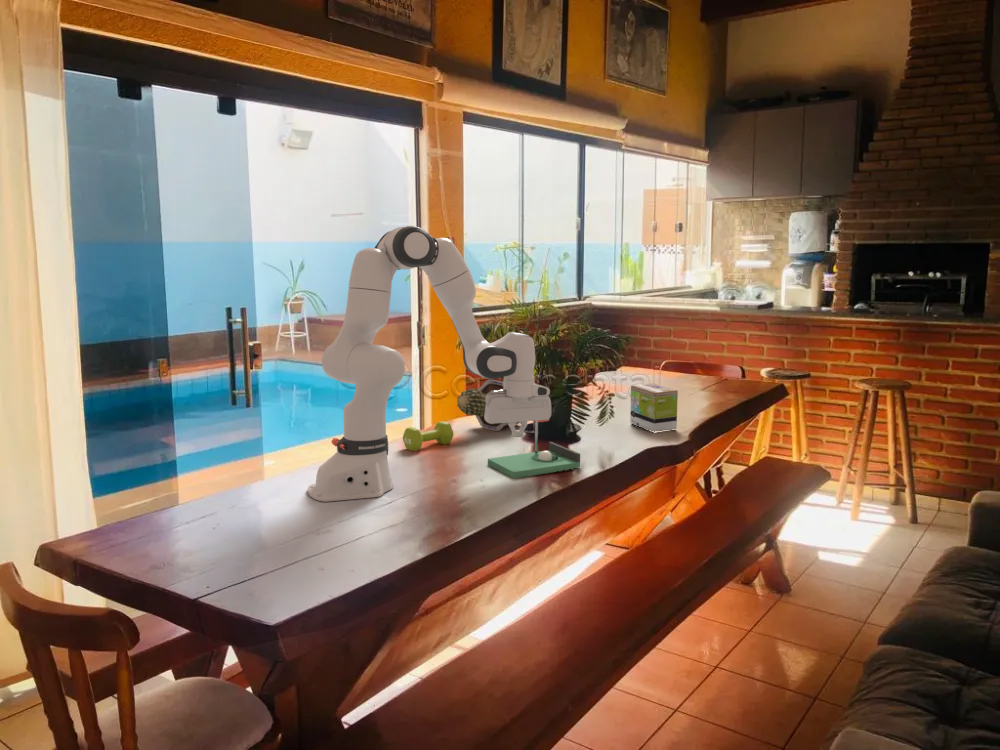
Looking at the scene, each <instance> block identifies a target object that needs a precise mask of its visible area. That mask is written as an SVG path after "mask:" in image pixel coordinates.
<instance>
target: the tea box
mask: <svg viewBox="0 0 1000 750" xmlns="http://www.w3.org/2000/svg"><path fill="white" fill-rule="evenodd" d="M678 395H679V391H678V390H677V389H674V388H670V387H667V386H663V385H660V384H657V383H652V382H651V383H644V384H636V385H630V419H629V421H630V422H629V423H631V424H634V425H637V426H639V427H642V428H645V429H648V430H651V431H654V432H655V431H663V430H672V429H678V427H677V426H678V422H677V421H678ZM631 424H630V425H631ZM634 425H633V426H634ZM637 426H636V427H637ZM639 427H638V428H639ZM642 428H641V429H642Z"/></svg>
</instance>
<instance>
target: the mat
mask: <svg viewBox="0 0 1000 750" xmlns="http://www.w3.org/2000/svg"><path fill="white" fill-rule="evenodd" d="M542 451H543V450H542ZM542 451H540V450H539V451H538V453H535V451H533V452H526V453H520V454H511V455H505V456H504V455H503V456H499V457H498V456H497V457H491V458H487V466H488V467H489V466H490V467H492V468H493V469H495V470H497V471H499V472H501V473H503V474H505V475H507V476H509V477H511V478H513V479H517V478H518V479H519V478H525V477H526V478H527V477H531V476H536V475H537V476H538V475H539V476H540V475H543V474H544V475H545V474H549V473H551V474H552V473H556V472H557V471H558V472H563V470H564V471H570V470H569V469H571V470H575V469H574V468H577V469H579V468H578V467H580V468H581V453H579V452H577V451H574V450H573V449H570V448H567V447H565V446H563V445H560V444H558V443H557V442H556V443H555V442H553V441H548V450H546V451H549V452H550V453H551V455H552V460H551V461H543V460H539V454H540V453H541V452H542Z"/></svg>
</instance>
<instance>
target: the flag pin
mask: <svg viewBox="0 0 1000 750" xmlns="http://www.w3.org/2000/svg"><path fill="white" fill-rule="evenodd" d="M549 421H550V418H549V419H548V420H536V421H534V452H535V453H538V452H539V450H538V447H539V446H538V445H539V444H538V443H539V442H538V441H539V439H538V438H539V437H538V435H539V423H544V422H549Z"/></svg>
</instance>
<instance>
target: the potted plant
mask: <svg viewBox="0 0 1000 750" xmlns="http://www.w3.org/2000/svg"><path fill="white" fill-rule="evenodd" d="M503 383H504V381H500V380H495V379H487V380H486V381H485V382H483V383H482V385H481V386H480V387H479V388H478V389H476V388H469V389H466V390H464V391H461V392H460V393H461V394H459V396H458V397H457V401H456V402H457V405H456V407H458V408H459V411H461V412H462V413H464V414H465V415H469V416H475V418H476V420H477V422H478V423H479V425H480V426H481V428H483V429H484V430H488V431H489V430H491V431H494V432H496V431H500V430H502V429H503V428H504V427H507V426H509V425H508V423H495V424H490V423H488V422H486V420H485V419H484V414H485V406H486V402H485V400H486V395H487V394H488V393H489V392H490V391H493V390H495V391H498V390H503ZM489 395H490V394H489ZM517 425H520V422H516V426H517Z"/></svg>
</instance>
